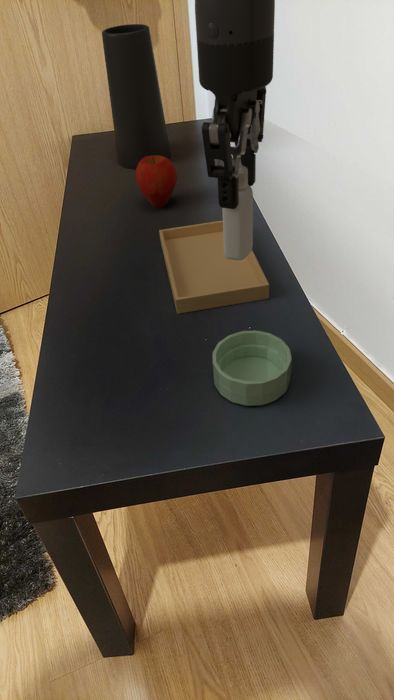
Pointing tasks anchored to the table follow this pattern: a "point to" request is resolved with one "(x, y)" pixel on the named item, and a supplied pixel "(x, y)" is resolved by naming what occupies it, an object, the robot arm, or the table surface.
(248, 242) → the eye dropper bottle
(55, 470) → the table surface
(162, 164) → the apple
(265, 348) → the bowl
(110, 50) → the vase
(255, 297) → the tray
